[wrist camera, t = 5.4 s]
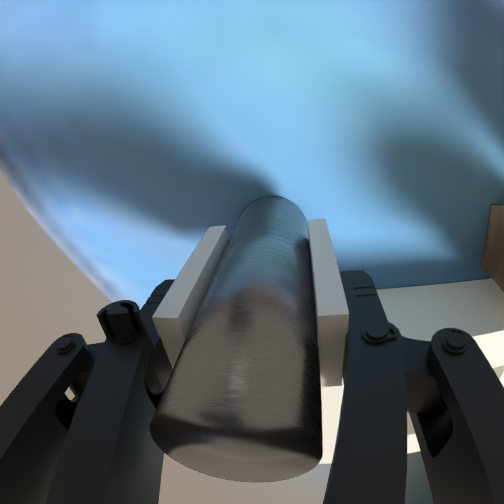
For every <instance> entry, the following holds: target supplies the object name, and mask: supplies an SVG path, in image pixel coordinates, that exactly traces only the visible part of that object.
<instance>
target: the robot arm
mask: <svg viewBox="0 0 504 504" xmlns="http://www.w3.org/2000/svg"><path fill="white" fill-rule="evenodd" d="M308 239H309V249H310V259H311V269H312V279H313V290H314V302H315V314H316V328H317V343H318V348H319V360H320V378H321V387H331V386H342V380H343V383H344V390H343V397H342V403H341V409H340V418H339V424H338V431H337V437H336V442H335V448H334V454H333V459H332V464H331V469H330V474H329V479H328V483H327V488H326V493H325V497H324V501H323V504H404V502H405V490H406V489H405V488H406V473H407V412H409V415H410V418H411V421H412V424H413V428H414V431H415V434H416V437H417V441H418V444H419V448H420V451H421V455H422V458H423V462H424V466H425V469H426V473H427V476H428V481H429V485H430V489H431V493H432V497H433V501H434V504H504V387H503V385H502V383H501V382H500V380H499V378H498V376H497V375H496V373H495V371H494V370H493V368H492V366H491V365H490V363H489V361H488V360H487V358H486V357H485V355H484V353H483V352H482V350H481V349H480V347H479V346H478V344H477V343H476V341H475V340H474V338H473V337H472V336H471V335H470V334H469V333H467V332H465V331H463V330H461V329H457V328H443V329H441V330H438V331H437V332H436V333H435V334H434V335H433V336H432V339H431V341H424V340H416V339H411V338H407V337H404V336H402V335H401V334H400V331H399V329H398V328H397V327H396V326H395V325H394V324H392V323H390V322H388V320H387V317H386V314H385V312H384V309H383V306H382V304H381V301H380V298H379V296H378V293H377V291H376V288H375V285H374V283H373V280H372V278H371V277H370V276H369V275H368V274H366V273H365V272H364V271H363V270H360V271H343V272H339V269H338V265H337V261H336V257H335V253H334V249H333V246H332V242H331V238H330V235H329V231H328V227H327V224H326V220H325V219H318V220H308ZM228 242H229V240H228V234H227V228H226V225H223V226H210V227H209V228H208V230H207V231H206V233H205V234H204V236H203V237H202V239H201V240H200V242H199V243H198V245H197V246H196V248H195V250H194V251H193V253H192V254H191V256H190V257H189V259H188V260H187V262H186V263H185V265H184V267H183V268H182V270H181V271H180V273H179V274H178V276H177V278H176V279H173V280H165V281H164V282H162V283H161V284H159V285H158V286H157V287H156V288H155V289H154V291H153V292H152V294H151V297H149V298H148V300H147V301H146V304H144V306H143V307H142V309H141V310H139V307H138V305H137V304H136V303H135V302H133V301H130V300H122V301H117V302H114V303H111V304H109V305H107V306H105V307H104V308H102V309H101V310H100V311H99V312H98V314H97V317H98V319H99V322H100V324H101V326H102V328H103V331H104V333H105V335H106V337H107V338H106V340H105V342H103V343H96V344H89V345H87V344H86V342H85V340H84V338H83V337H82V335H80V334H78V333H70V334H65V335H63V336H62V337H60V338H58V339H57V340H56V341H55V342H53V343H52V345H51V346H50V347H49V348H48V349H47V350H46V351H45V353H44V354H43V355H42V356H41V357H40V358H39V360H38V361H37V362H36V363H35V364H34V365H33V367H32V368H31V369H30V370H29V371H28V373H27V374H26V375H25V377H23V379H22V380H21V381H20V382H19V383H18V385H17V386H16V387H15V388H14V390H13V391H12V392H11V393H10V395H9V396H8V397H7V398H6V400H5V401H4V402H3V404H2V405H1V406H0V504H158V501H159V491H160V482H161V473H162V465H163V457H164V452H163V451H162V450H161V449H160V448H159V447H158V446H157V445H156V443H155V442H154V441H153V439H152V437H151V434H150V429H149V427H150V423H151V420H152V418H153V415H154V413H155V411H156V408H157V406H158V403H159V401H160V398H161V396H162V394H163V391H164V389H165V386H166V384H167V382H168V379H169V377H170V374H171V372H172V370H173V367H174V365H175V363H176V360H177V358H178V356H179V353H180V351H181V349H182V346H183V344H184V342H185V339H186V337H187V335H188V332H189V330H190V328H191V325H192V323H193V321H194V319H195V316H196V314H197V312H198V309H199V307H200V305H201V303H202V300H203V298H204V296H205V294H206V291H207V289H208V287H209V285H210V282H211V280H212V278H213V276H214V273H215V271H216V269H217V267H218V264H219V262H220V260H221V258H222V256H223V253H224V251H225V249H226V247H227V245H228ZM68 387H69V388H70V389H71V391H72V392H73V393H74V395H75V397H74V398H73V399H72V400H69V399H68V398H67V396H66V395H65V391H66V390H67V388H68Z"/></svg>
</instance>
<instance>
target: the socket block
mask: <svg viewBox="0 0 504 504" xmlns="http://www.w3.org/2000/svg"><path fill="white" fill-rule="evenodd" d="M376 291H377V293H378V296H379V298H380V301H381V304H382V306H383V309H384V312H385V314H386V317H387V320H388V322H390V323H392V324H394V325H395V326H396V327H397V328H398V329H399V331H400V334H401V335H402V336H404V337H407V338H411V339H416V340H424V341H431V339H432V336H433V335H434V334H435V333H436V332H437V331H438V330H441V329H443V328H457V329H461V330H463V331H465V332H467V333H469V334H470V335H471V336H472V337H473V338H474V340H475V341H476V343H477V344H478V346H479V347H480V349H481V350H482V352H483V353H484V355H485V357H486V358H487V360H488V361H489V363H490V365H491V366H492V368H493V370H494V371H495V373H496V375H497V376H498V378H499V380H500V382H501V383H502V385H503V387H504V292H503V291H502V290H501V288H500V287H499V286H498V285H497V284H496V283H495V282H494V280H493V279H492V278H490V279H481V280H473V281H464V282H454V283H444V284H434V285H424V286H413V287H401V288H388V289H376ZM343 390H344V383H343V380H342V386H331V387H321V400H322V433H323V456H322V459H321V460H320V462H319V463H318V464H326V463H332V459H333V454H334V448H335V442H336V437H337V431H338V424H339V418H340V409H341V403H342V397H343ZM417 451H420V448H419V444H418V441H417V437H416V434H415V431H414V428H413V424H412V421H411V418H410V415H409V412H407V453H411V452H417Z"/></svg>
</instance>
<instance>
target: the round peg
mask: <svg viewBox="0 0 504 504" xmlns="http://www.w3.org/2000/svg"><path fill="white" fill-rule="evenodd" d="M149 429H150V434H151V437H152V439H153V441H154V442H155V443H156V445H157V446H158V447H159V448H160V449H161V450H162V451H163V452H164V453H166V454H167V455H168V456H169V457H171V458H172V459H174V460H176V461H177V462H179V463H181V464H182V465H184V466H186V467H189V468H191V469H193V470H195V471H198V472H200V473H204V474H207V475H210V476H213V477H217V478H222V479H226V480H233V481H241V482H274V481H281V480H286V479H290V478H294V477H297V476H300V475H302V474H304V473H306V472H308V471H310V470H311V469H313V468H314V467H315V466H316V465H317V464H318V463H319V462H320V460H321V459H322V456H323V433H322V400H321V378H320V360H319V348H318V343H317V328H316V314H315V302H314V290H313V279H312V269H311V259H310V249H309V239H308V227H307V222H306V218H305V216H304V214H303V213H302V211H301V210H300V209H299V207H298V206H296V205H295V204H294V203H293V202H291V201H289V200H287V199H285V198H281V197H275V196H269V197H263V198H260V199H257V200H255V201H253V202H252V203H251V204H249V205H248V206H247V207H246V208H245V210H244V211H243V212H242V214H241V216H240V218H239V221H238V223H237V225H236V227H235V229H234V231H233V234H232V236H231V238H230V240H229V242H228V245H227V247H226V249H225V251H224V253H223V256H222V258H221V260H220V262H219V264H218V267H217V269H216V271H215V273H214V276H213V278H212V280H211V282H210V285H209V287H208V289H207V291H206V294H205V296H204V298H203V300H202V303H201V305H200V307H199V309H198V312H197V314H196V316H195V319H194V321H193V323H192V325H191V328H190V330H189V332H188V335H187V337H186V339H185V342H184V344H183V346H182V349H181V351H180V353H179V356H178V358H177V360H176V363H175V365H174V367H173V370H172V372H171V374H170V377H169V379H168V382H167V384H166V386H165V389H164V391H163V394H162V396H161V398H160V401H159V403H158V406H157V408H156V411H155V413H154V415H153V418H152V420H151V423H150V427H149Z"/></svg>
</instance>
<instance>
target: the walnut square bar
mask: <svg viewBox="0 0 504 504" xmlns="http://www.w3.org/2000/svg"><path fill="white" fill-rule="evenodd" d="M480 266H481V267H482V268H483V269H484V271H485V272H486V273H487V274H488V275H489V276H490V277H491V278H492V279H493V280H494V282H495V283H496V284H497V285H498V286H499V287H500V288H501V290H502V291H503V292H504V205H491V207H490V215H489V222H488V228H487V234H486V240H485V245H484V250H483V255H482V260H481V265H480Z"/></svg>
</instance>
